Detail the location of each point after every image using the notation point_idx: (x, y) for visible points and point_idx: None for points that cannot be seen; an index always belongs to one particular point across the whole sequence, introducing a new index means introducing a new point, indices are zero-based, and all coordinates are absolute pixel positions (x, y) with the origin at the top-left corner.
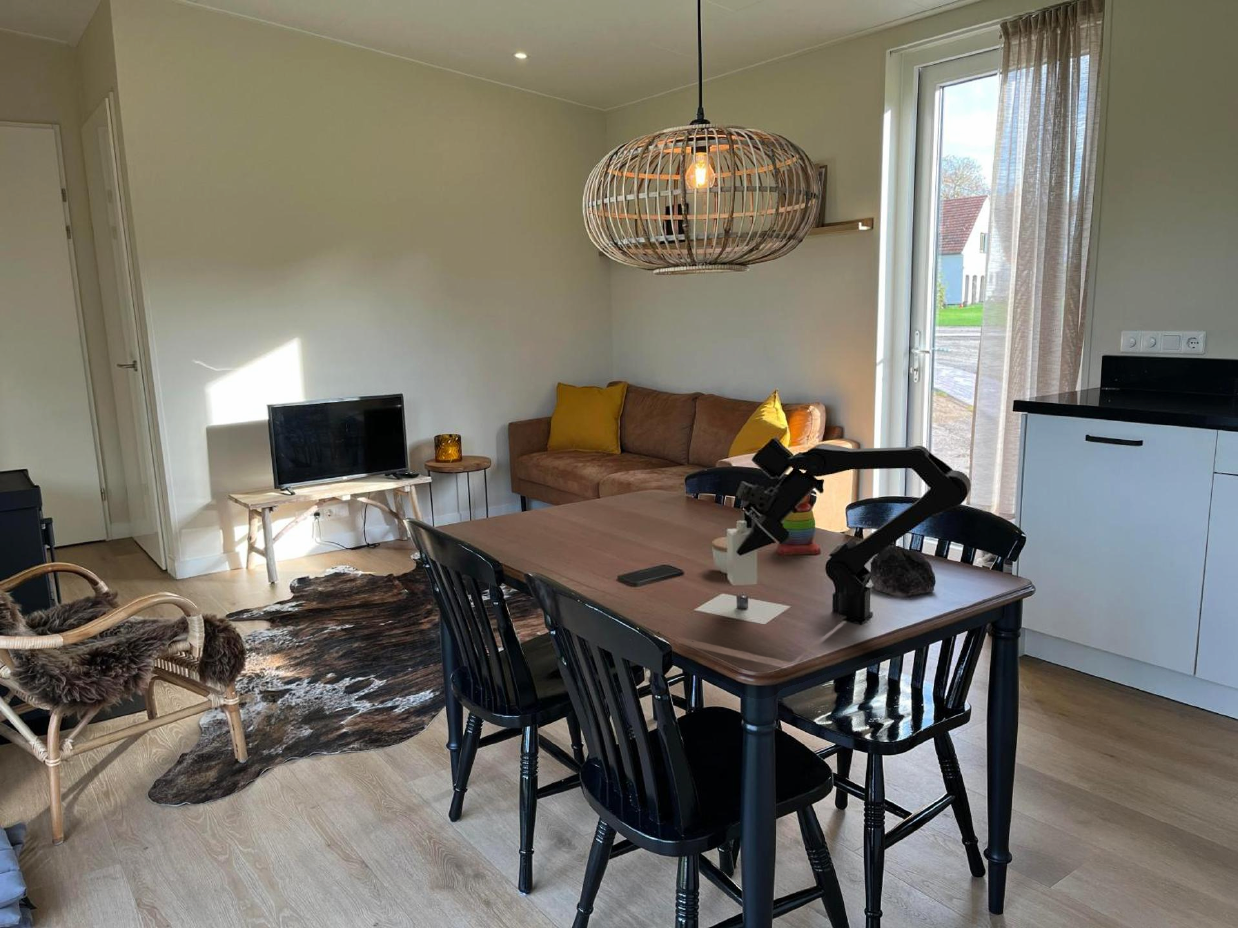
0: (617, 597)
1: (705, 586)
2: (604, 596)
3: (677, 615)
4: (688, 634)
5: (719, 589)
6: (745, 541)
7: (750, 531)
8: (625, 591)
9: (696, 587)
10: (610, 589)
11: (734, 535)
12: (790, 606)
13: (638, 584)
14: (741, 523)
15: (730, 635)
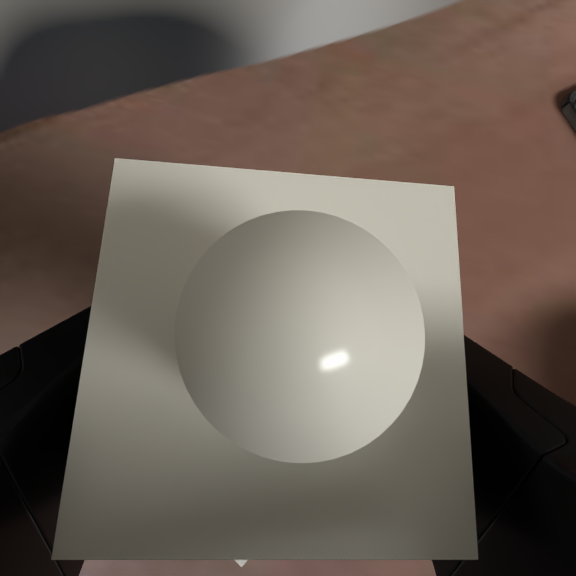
0: (466, 42)
1: (547, 309)
2: (478, 14)
3: (285, 161)
4: (118, 153)
5: (513, 349)
6: (41, 333)
7: (240, 484)
8: (516, 71)
9: (539, 277)
10: (536, 39)
11: (112, 192)
12: (240, 565)
13: (567, 110)
14: (183, 293)
15: (68, 269)
